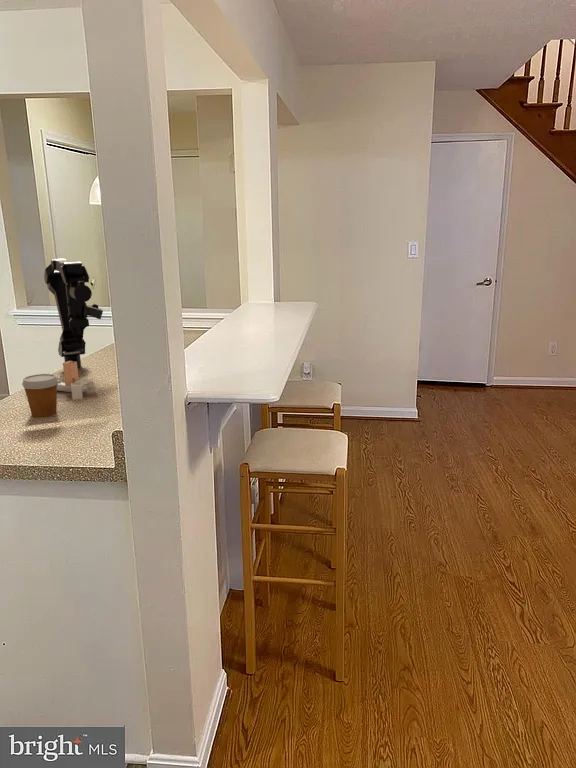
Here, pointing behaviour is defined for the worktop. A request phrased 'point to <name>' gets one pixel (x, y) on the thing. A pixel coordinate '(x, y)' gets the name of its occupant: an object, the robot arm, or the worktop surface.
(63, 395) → the walnut board
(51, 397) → the disposable coffee cup
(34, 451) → the worktop surface
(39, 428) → the worktop surface
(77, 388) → the block
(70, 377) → the lever link
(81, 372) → the worktop surface
